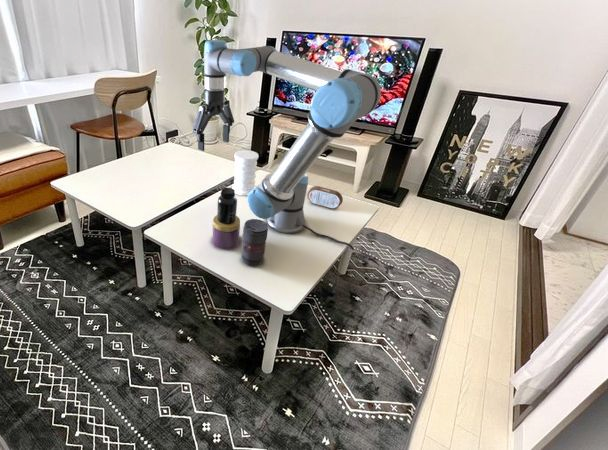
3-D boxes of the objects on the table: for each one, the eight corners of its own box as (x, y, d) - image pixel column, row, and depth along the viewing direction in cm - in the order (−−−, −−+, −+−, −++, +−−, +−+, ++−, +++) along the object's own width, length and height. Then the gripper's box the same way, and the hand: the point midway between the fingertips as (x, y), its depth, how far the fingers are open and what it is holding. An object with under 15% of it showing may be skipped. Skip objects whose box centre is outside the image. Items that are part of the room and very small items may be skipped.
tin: (340, 209, 150) (345, 192, 146) (338, 212, 148) (343, 194, 143) (307, 200, 157) (310, 183, 152) (305, 202, 155) (308, 186, 150)
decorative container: (230, 194, 161) (232, 158, 151) (233, 183, 171) (235, 149, 161) (255, 196, 160) (258, 160, 150) (256, 185, 169) (259, 150, 159)
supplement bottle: (234, 225, 121) (236, 196, 114) (215, 223, 122) (216, 194, 115) (237, 216, 126) (238, 187, 120) (218, 214, 127) (219, 185, 121)
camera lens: (258, 270, 115) (262, 234, 107) (236, 262, 119) (239, 226, 111) (267, 258, 121) (272, 222, 113) (247, 250, 124) (250, 215, 116)
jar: (241, 236, 132) (243, 216, 127) (235, 251, 124) (236, 230, 119) (216, 232, 135) (217, 212, 130) (209, 246, 127) (209, 226, 122)
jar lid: (242, 219, 128) (242, 215, 127) (236, 234, 120) (236, 229, 119) (217, 215, 130) (217, 211, 129) (209, 229, 122) (209, 224, 121)
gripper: (230, 82, 132) (228, 136, 144) (181, 92, 118) (183, 151, 129) (245, 85, 128) (241, 140, 139) (196, 95, 113) (196, 156, 125)
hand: (213, 145), depth 134 cm, fingers open, 13 cm apart
